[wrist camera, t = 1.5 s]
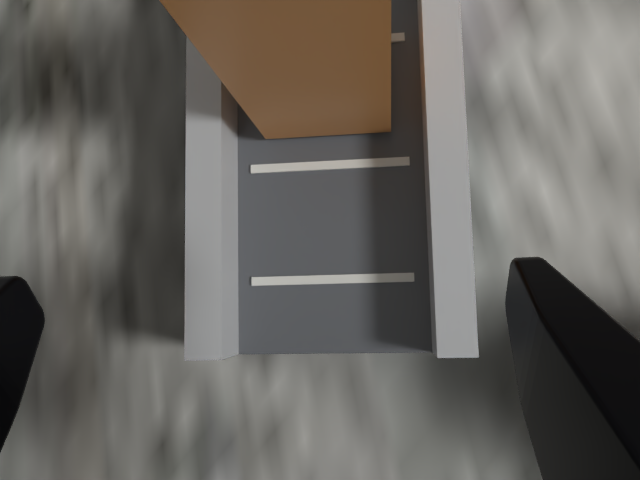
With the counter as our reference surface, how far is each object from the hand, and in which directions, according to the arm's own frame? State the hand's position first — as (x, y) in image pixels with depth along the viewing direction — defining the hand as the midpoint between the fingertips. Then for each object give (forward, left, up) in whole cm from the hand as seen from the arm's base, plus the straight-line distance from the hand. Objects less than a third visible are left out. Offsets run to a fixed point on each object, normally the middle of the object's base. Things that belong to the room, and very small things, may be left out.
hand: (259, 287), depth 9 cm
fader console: (+8, 0, -13) cm, 15 cm away
